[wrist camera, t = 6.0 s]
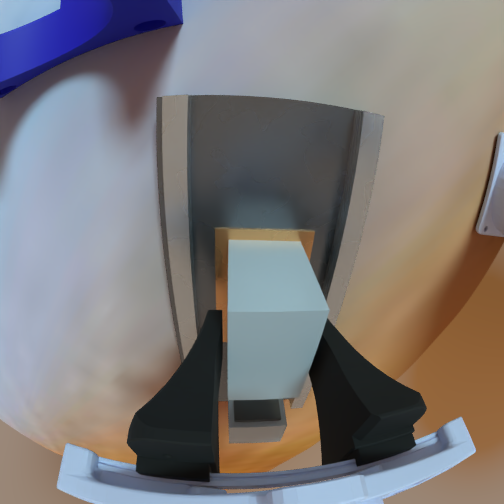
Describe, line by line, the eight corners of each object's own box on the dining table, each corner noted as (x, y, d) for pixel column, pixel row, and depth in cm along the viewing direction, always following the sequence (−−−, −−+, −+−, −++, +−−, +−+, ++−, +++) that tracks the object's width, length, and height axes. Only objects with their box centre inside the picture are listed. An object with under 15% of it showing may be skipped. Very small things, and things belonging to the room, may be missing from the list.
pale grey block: (300, 241, 14) (329, 310, 9) (284, 331, 17) (297, 400, 13) (228, 239, 13) (227, 311, 9) (227, 331, 17) (228, 402, 12)
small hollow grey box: (277, 361, 19) (287, 423, 14) (272, 385, 20) (279, 441, 16) (227, 362, 18) (228, 425, 14) (227, 386, 20) (229, 443, 16)
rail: (368, 113, 12) (393, 118, 10) (302, 384, 23) (307, 406, 21) (164, 97, 11) (150, 97, 9) (191, 385, 22) (189, 409, 20)
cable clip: (179, -41, 7) (154, -100, 2) (183, 24, 9) (150, -23, 4) (2, 38, 7) (-62, 39, 2) (3, 97, 9) (-66, 114, 4)
